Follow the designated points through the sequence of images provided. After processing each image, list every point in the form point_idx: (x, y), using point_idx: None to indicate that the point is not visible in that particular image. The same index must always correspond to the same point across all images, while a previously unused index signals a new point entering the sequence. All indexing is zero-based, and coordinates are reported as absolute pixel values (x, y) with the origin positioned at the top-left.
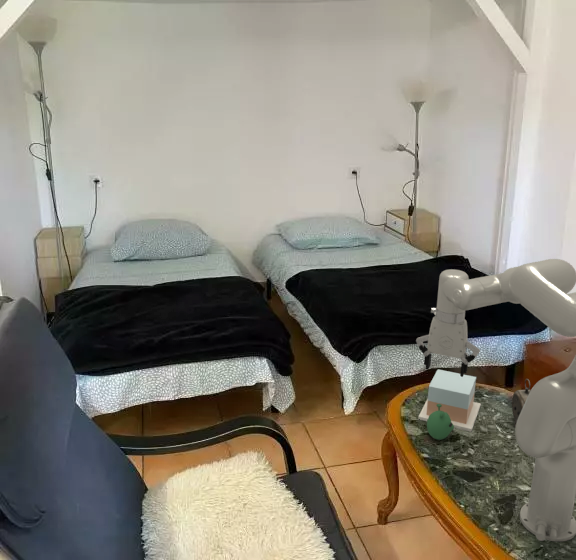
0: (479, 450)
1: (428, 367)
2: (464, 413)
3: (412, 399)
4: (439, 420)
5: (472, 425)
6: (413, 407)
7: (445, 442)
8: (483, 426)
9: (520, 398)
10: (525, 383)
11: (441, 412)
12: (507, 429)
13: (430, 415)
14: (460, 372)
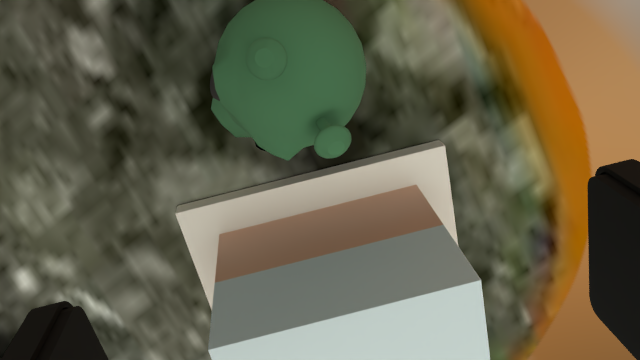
0: (58, 85)
1: (604, 205)
2: (230, 262)
3: (525, 269)
4: (271, 31)
5: (188, 242)
6: (497, 215)
7: None
8: (158, 279)
9: None
10: None
11: (270, 56)
12: None
13: (352, 57)
14: (52, 346)
